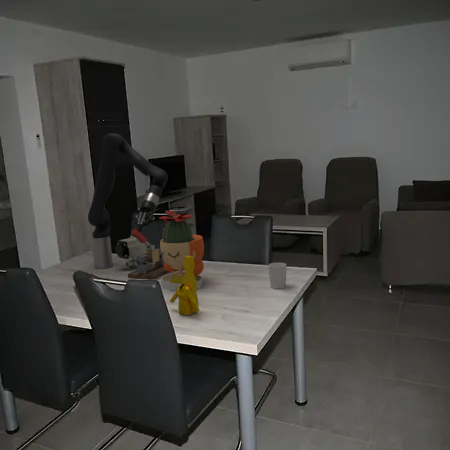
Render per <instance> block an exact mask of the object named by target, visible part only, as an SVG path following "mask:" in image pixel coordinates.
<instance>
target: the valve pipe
mask: <svg viewBox="0 0 450 450" xmlns="http://www.w3.org/2000/svg"><path fill="white" fill-rule="evenodd" d="M151 245H152V246H151V248H147V246H146V250H144V251H142V255H140V256H138V257H135V259H136V263H137V267H138V268H137V270H138V274H144V275H147V274H149V266H148V265H149V264H155V266H158V267H164V263H165V261H164V259H163V257H162V255H161V252H160V247H158V248H156V247H155V244H151Z"/></svg>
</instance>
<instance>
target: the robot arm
mask: <svg viewBox="0 0 450 450" xmlns="http://www.w3.org/2000/svg"><path fill="white" fill-rule="evenodd" d="M101 147H102V148H101V156H100V161H99V166H98V170H97V174H96V175H97V176H96V180H95V181H96V182H95V186H94V187H95V188H94V193H93V196H92V202H91V205H90V207H89V211H88V215H87V219H88V221H87V222H88V223H89V224H90V225H91V226H93V227H95V228H94V230H93V231H92V242H93V251H92V254H93V255H92V256H93V264H94V268H96V269H108V268H111V267H113V265H114V264H113V254H112V245H111V237H110V236H111V234H110V233H111V229H112V227H111V216H110V212H109V211H108V210H107V209H106V208H105V206H106V202H107V200H108V198H109V197H110V194H111V193H112V191H113V188H114V185H115V179H116V170H115V160H116V156H117V155H116V154H117V152H118V153H119V154H122V155H123V156H124V157H125V158H126V159H128V161H129V162H130V164H131V165H133V167H134V168H135V169H137V170H138V171H139V172H140V173H141V174H143V175H144V176H146V177H148V176H151V177H153V179H152V181H151V184H150V186H149V188H148V189H147V192H146V193H145V196H144V197H143V200H142V202H141V204H140V207H139V211H138V212H137V214H134V215H132V218H133V222H134V225H136V227H135V229H137V230H138V231H139V232H140V233H141V232H142V230H143V229H144V227H148V226H149V225H150V224H152V222H154V221H155V220H156V217H155V216H154V214H155V212H156V209H157V207H158V205H159V202H160V198H161V196H162V192H163V190H164V189H165V186H166V184H167V182H168V179H169V176H168V173H167V172H166V170H164V169H163V168H161V167H159V166H156V165H154V164H152V163H151V162H150V161H149V160H148V159H146V158H145V157H143V155H141V154H140V153H139V152H137V150H136V149H134V148H133V146H131V145H130V144H129V143H128V141H127V140H126V139H125V138H124V137H123V136H122V135H121V134H119V133H112V132H111V133H107V134H106V135H105V136H104V137H103V139H102V144H101Z"/></svg>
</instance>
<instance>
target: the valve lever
mask: <svg viewBox="0 0 450 450" xmlns="http://www.w3.org/2000/svg"><path fill="white" fill-rule="evenodd" d="M130 234H131V236H133V237H135V238H136V239H137V240H139V241H140V242H141V243H144V244H145V245H146V246H147V248H149V249H152V248H151V246H152V245H153V244H151V243H148V242H149V241H148V242H147V241H146V240H148V238H145V237H146V236H144V235H143V234H142V233H141V232H139V231H138V230H137V229H136V228H134V229H133V228H132V230H131V233H130Z"/></svg>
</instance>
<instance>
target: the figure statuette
mask: <svg viewBox="0 0 450 450" xmlns="http://www.w3.org/2000/svg"><path fill="white" fill-rule="evenodd" d="M184 269H185V270H184V273H185V275H184V277H183V279H182V284H181V285H180V286H178V287H177V290H176V291H174V293H173V295H172V297H171V298H170V300H169V302H170V303H171V304H174V303H175V302H176V300H177V299H178V308H177V309H178V314H179V315H182V316H189V315H192V314H195V313H197V312H200V308H199V304H200V303H199V297H198V294H197V291H198V289H197V281H196V278H195V276H194V274H193V270H194V258H193V256H185V258H184Z"/></svg>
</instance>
